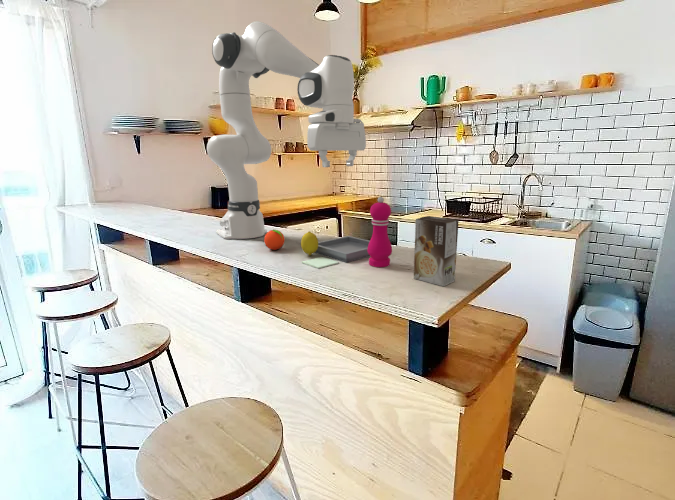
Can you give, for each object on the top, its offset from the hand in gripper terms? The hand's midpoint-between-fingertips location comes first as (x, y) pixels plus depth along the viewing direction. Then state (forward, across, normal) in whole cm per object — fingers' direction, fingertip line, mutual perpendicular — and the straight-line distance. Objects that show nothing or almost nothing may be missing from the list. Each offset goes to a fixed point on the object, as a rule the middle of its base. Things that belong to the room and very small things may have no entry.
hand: (338, 166), depth 111 cm
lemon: (+28, +5, -9) cm, 30 cm away
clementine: (+29, +8, -23) cm, 37 cm away
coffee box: (+28, -4, +32) cm, 43 cm away
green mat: (+28, +8, 0) cm, 29 cm away
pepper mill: (+28, -4, +13) cm, 32 cm away
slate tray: (+28, -7, -4) cm, 29 cm away
